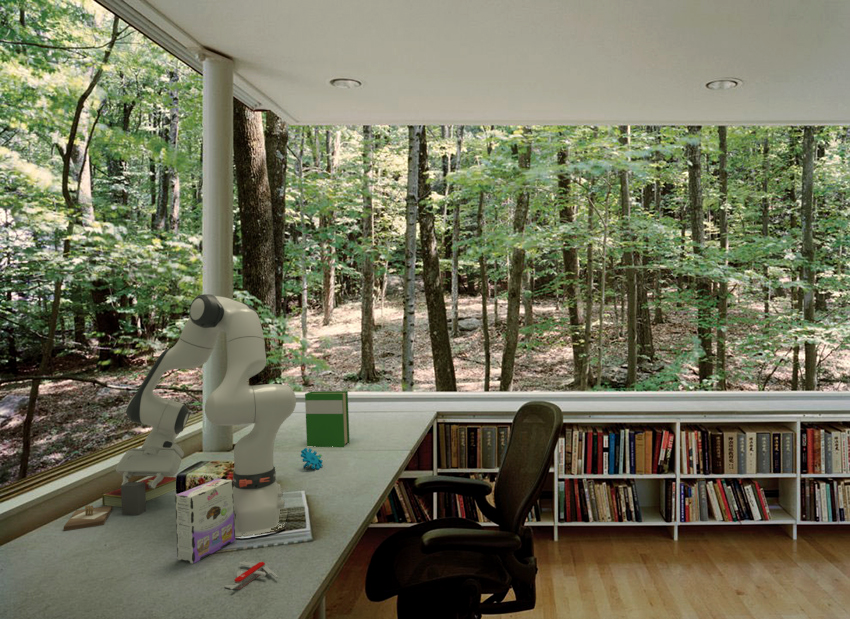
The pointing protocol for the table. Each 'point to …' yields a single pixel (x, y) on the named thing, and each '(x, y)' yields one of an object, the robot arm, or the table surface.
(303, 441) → the table surface
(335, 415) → the hardback book
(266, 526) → the robot arm
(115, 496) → the hardcover book
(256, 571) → the swiss army knife
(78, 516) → the board
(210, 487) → the candy box
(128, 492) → the block
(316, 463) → the gear
